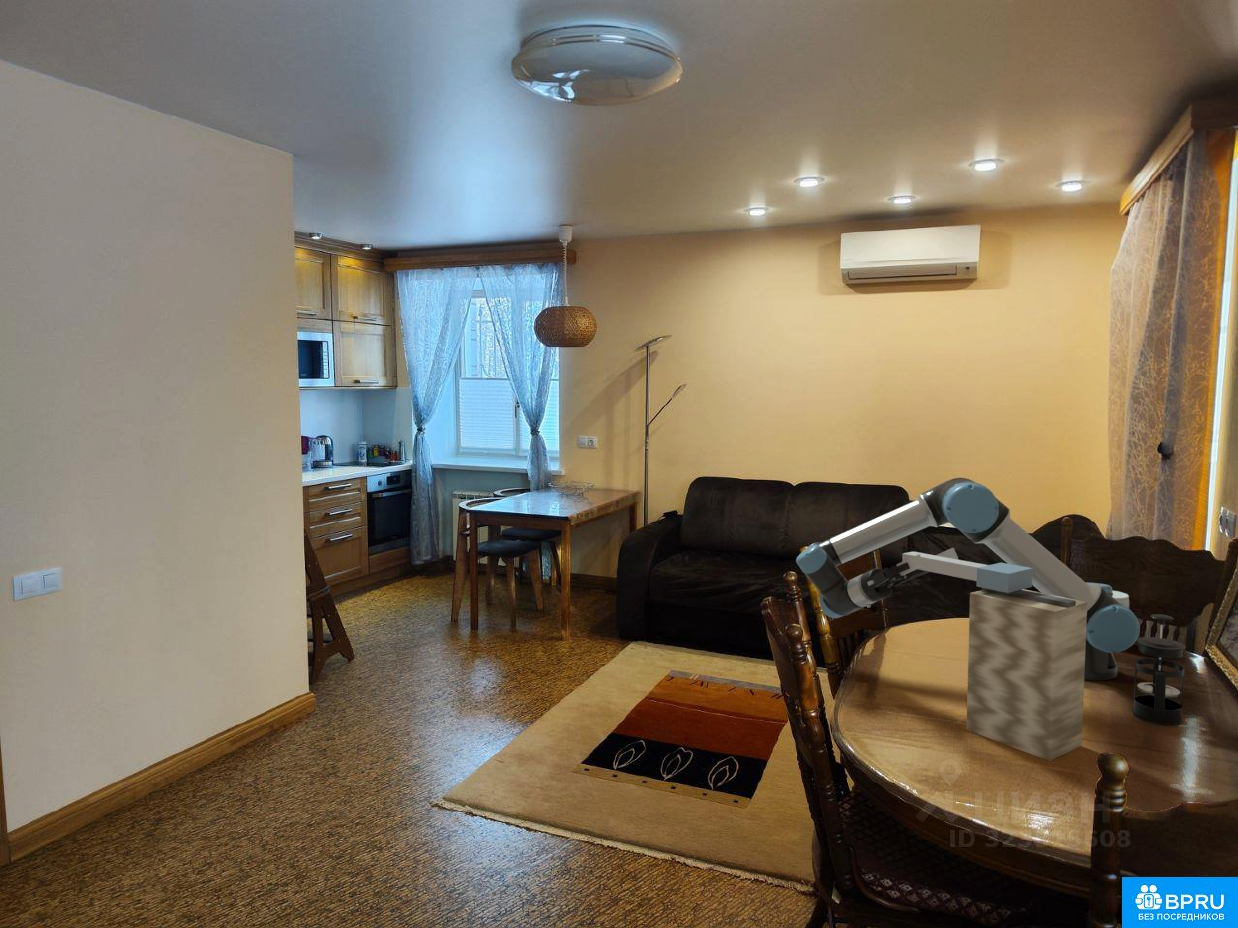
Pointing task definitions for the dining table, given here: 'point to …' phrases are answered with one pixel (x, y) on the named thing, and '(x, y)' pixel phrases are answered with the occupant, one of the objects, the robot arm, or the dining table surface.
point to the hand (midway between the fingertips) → (938, 556)
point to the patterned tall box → (1027, 670)
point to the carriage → (978, 572)
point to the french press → (1159, 680)
